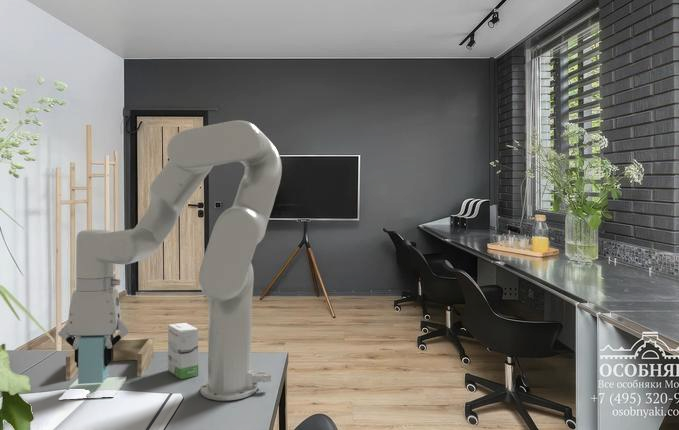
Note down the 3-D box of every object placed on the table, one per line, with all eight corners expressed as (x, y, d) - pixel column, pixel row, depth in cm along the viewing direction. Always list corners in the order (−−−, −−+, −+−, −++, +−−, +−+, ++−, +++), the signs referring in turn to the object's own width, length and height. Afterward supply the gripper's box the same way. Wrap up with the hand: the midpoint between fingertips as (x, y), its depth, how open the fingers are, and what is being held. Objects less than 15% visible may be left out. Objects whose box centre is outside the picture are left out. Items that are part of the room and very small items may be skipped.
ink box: (199, 375, 116) (199, 328, 116) (179, 380, 113) (179, 331, 113) (185, 366, 123) (186, 321, 123) (166, 370, 120) (167, 323, 120)
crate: (153, 357, 129) (153, 337, 129) (141, 376, 115) (141, 353, 115) (86, 360, 126) (86, 340, 126) (65, 379, 112) (65, 356, 112)
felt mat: (126, 379, 113) (126, 376, 113) (113, 397, 103) (113, 394, 103) (77, 381, 111) (77, 379, 111) (58, 400, 101) (58, 397, 101)
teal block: (109, 374, 110) (109, 332, 110) (102, 382, 105) (102, 338, 105) (85, 375, 109) (86, 332, 109) (78, 383, 104) (78, 338, 104)
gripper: (139, 281, 112) (138, 358, 112) (60, 282, 109) (59, 361, 109) (131, 287, 104) (130, 369, 105) (46, 288, 101) (45, 372, 102)
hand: (94, 364), depth 107 cm, fingers closed on teal block, 5 cm apart
